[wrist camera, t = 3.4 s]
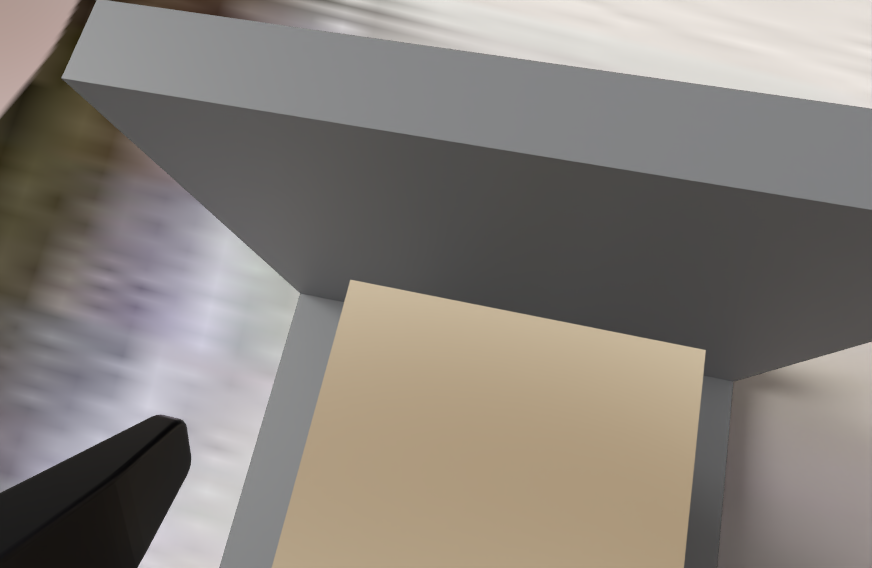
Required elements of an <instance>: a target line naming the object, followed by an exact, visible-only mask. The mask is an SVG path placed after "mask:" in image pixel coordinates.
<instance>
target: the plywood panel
mask: <svg viewBox="0 0 872 568" xmlns="http://www.w3.org/2000/svg"><path fill="white" fill-rule="evenodd" d="M705 353H706V350H703V349H698V348H693V347H688V346H683V345H677V344H672V343H667V342H662V341H657V340H652V339H647V338H642V337H637V336H632V335H627V334H622V333H617V332H612V331H607V330H602V329H597V328H592V327H587V326H582V325H577V324H572V323H567V322H562V321H557V320H551V319H546V318H541V317H536V316H531V315H526V314H521V313H516V312H511V311H506V310H501V309H496V308H491V307H486V306H481V305H476V304H471V303H466V302H461V301H456V300H451V299H446V298H441V297H436V296H430V295H425V294H420V293H415V292H410V291H405V290H400V289H395V288H390V287H385V286H380V285H375V284H370V283H365V282H360V281H355V280H350V283H349V287H348V290H347V294H346V298H345V301H344V305H343V309H342V312H341V316H340V320H339V323H338V327H337V331H336V334H335V338H334V342H333V345H332V349H331V352H330V356H329V360H328V363H327V367H326V371H325V374H324V378H323V382H322V385H321V389H320V393H319V396H318V400H317V404H316V407H315V411H314V415H313V418H312V422H311V426H310V429H309V433H308V437H307V440H306V444H305V448H304V451H303V455H302V459H301V462H300V466H299V470H298V473H297V477H296V481H295V484H294V488H293V492H292V495H291V499H290V503H289V506H288V510H287V514H286V517H285V521H284V525H283V528H282V532H281V535H280V539H279V543H278V546H277V550H276V554H275V557H274V561H273V565H272V568H684V561H685V551H686V541H687V531H688V521H689V512H690V502H691V492H692V482H693V472H694V462H695V452H696V442H697V432H698V422H699V413H700V403H701V393H702V383H703V373H704V363H705Z"/></svg>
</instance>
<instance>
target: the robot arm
mask: <svg viewBox="0 0 872 568" xmlns="http://www.w3.org/2000/svg"><path fill="white" fill-rule="evenodd" d="M190 465H191V453H190V446H189V439H188V432H187V427H186V424H185V423H184V421H183V420H181V419H178V418H174V417H169V416H165V415H156V416H153V417H150V418H148V419H146V420H144V421H142V422H140V423H138V424H136V425H135V426H133V427H131V428H129V429H127V430H125V431H123V432H121V433H119V434H117V435H115V436H113V437H111V438H109V439H107V440H105V441H103V442H101V443H99V444H97V445H95V446H93V447H91V448H89V449H87V450H85V451H83V452H81V453H79V454H77V455H75V456H73V457H71V458H69V459H67V460H65V461H63V462H61V463H59V464H57V465H55V466H53V467H51V468H49V469H47V470H45V471H43V472H41V473H39V474H37V475H35V476H33V477H31V478H29V479H27V480H25V481H23V482H21V483H19V484H17V485H15V486H13V487H11V488H9V489H7V490H5V491H3V492H1V493H0V568H137V567H138V566H139V564H140V562H141V560H142V559H143V557H144V555H145V553H146V551H147V550H148V548H149V546H150V544H151V542H152V540H153V538H154V536H155V534H156V533H157V531H158V529H159V527H160V525H161V523H162V521H163V519H164V517H165V516H166V514H167V512H168V510H169V508H170V506H171V504H172V502H173V500H174V499H175V497H176V495H177V493H178V491H179V489H180V487H181V485H182V484H183V482H184V480H185V478H186V476H187V474H188V471H189V469H190Z"/></svg>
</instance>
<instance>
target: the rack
mask: <svg viewBox="0 0 872 568" xmlns="http://www.w3.org/2000/svg"><path fill="white" fill-rule="evenodd" d="M62 79H63V80H64V81H65V82H66V83H67V84H69V85H70V86H71V87H72V88H73V89H74V90H75V91H76V92H77V93H79V94H80V95H81V96H82V97H83V98H84V99H85V100H86V101H87V102H89V103H90V104H91V105H92V106H93V107H94V108H95V109H96V110H97V111H99V112H100V113H101V114H102V115H103V116H104V117H105V118H106V119H107V120H109V121H110V122H111V123H112V124H113V125H114V126H115V127H116V128H117V129H119V130H120V131H121V132H122V133H123V134H124V135H125V136H126V137H127V138H129V139H130V140H131V141H132V142H133V143H134V144H135V145H136V146H137V147H139V148H140V149H141V150H142V151H143V152H144V153H145V154H146V155H147V156H149V157H150V158H151V159H152V160H153V161H154V162H155V163H156V164H157V165H159V166H160V167H161V168H162V169H163V170H164V171H165V172H166V173H167V174H169V175H170V176H171V177H172V178H173V179H174V180H175V181H176V182H177V183H179V184H180V185H181V186H182V187H183V188H184V189H185V190H186V191H187V192H189V193H190V194H191V195H192V196H193V197H194V198H195V199H196V200H197V201H199V202H200V203H201V204H202V205H203V206H204V207H205V208H206V209H207V210H209V211H210V212H211V213H212V214H213V215H214V216H215V217H216V218H217V219H218V220H220V221H221V222H222V223H223V224H224V225H225V226H226V227H227V228H228V229H230V230H231V231H232V232H233V233H234V234H235V235H236V236H237V237H238V238H240V239H241V240H242V241H243V242H244V243H245V244H246V245H247V246H248V247H250V248H251V249H252V250H253V251H254V252H255V253H256V254H257V255H258V256H260V257H261V258H262V259H263V260H264V261H265V262H266V263H267V264H268V265H270V266H271V267H272V268H273V269H274V270H275V271H276V272H277V273H278V274H280V275H281V276H282V277H283V278H284V279H285V280H286V281H287V282H288V283H290V284H291V285H292V286H293V287H294V288H295V289H296V290H297V291H298V292H300V296H299V299H298V303H297V306H296V310H295V313H294V316H293V320H292V323H291V327H290V330H289V333H288V337H287V340H286V343H285V347H284V350H283V354H282V357H281V360H280V364H279V367H278V371H277V374H276V377H275V381H274V384H273V388H272V391H271V394H270V398H269V401H268V404H267V408H266V411H265V415H264V418H263V421H262V425H261V428H260V432H259V435H258V438H257V442H256V445H255V449H254V452H253V455H252V459H251V462H250V465H249V469H248V472H247V476H246V479H245V482H244V486H243V489H242V493H241V496H240V499H239V503H238V506H237V509H236V513H235V516H234V520H233V523H232V526H231V530H230V533H229V537H228V540H227V543H226V547H225V550H224V554H223V557H222V560H221V564H220V567H219V568H272V565H273V561H274V557H275V554H276V550H277V546H278V543H279V539H280V535H281V532H282V528H283V525H284V521H285V517H286V514H287V510H288V506H289V503H290V499H291V495H292V492H293V488H294V484H295V481H296V477H297V473H298V470H299V466H300V462H301V459H302V455H303V451H304V448H305V444H306V440H307V437H308V433H309V429H310V426H311V422H312V418H313V415H314V411H315V407H316V404H317V400H318V396H319V393H320V389H321V385H322V382H323V378H324V374H325V371H326V367H327V363H328V360H329V356H330V352H331V349H332V345H333V342H334V338H335V334H336V331H337V327H338V323H339V320H340V316H341V312H342V309H343V305H344V301H345V298H346V294H347V290H348V287H349V283H350V280H355V281H360V282H365V283H370V284H375V285H380V286H385V287H390V288H395V289H400V290H405V291H410V292H415V293H420V294H425V295H430V296H436V297H441V298H446V299H451V300H456V301H461V302H466V303H471V304H476V305H481V306H486V307H491V308H496V309H501V310H506V311H511V312H516V313H521V314H526V315H531V316H536V317H541V318H546V319H551V320H557V321H562V322H567V323H572V324H577V325H582V326H587V327H592V328H597V329H602V330H607V331H612V332H617V333H622V334H627V335H632V336H637V337H642V338H647V339H652V340H657V341H662V342H667V343H672V344H677V345H683V346H688V347H693V348H698V349H703V350H706V353H705V363H704V373H703V383H702V393H701V403H700V413H699V422H698V432H697V442H696V452H695V462H694V472H693V482H692V492H691V502H690V512H689V521H688V531H687V541H686V551H685V561H684V568H717V563H718V552H719V540H720V529H721V517H722V506H723V494H724V483H725V471H726V460H727V448H728V437H729V425H730V414H731V402H732V391H733V381H737V380H740V379H744V378H747V377H751V376H754V375H758V374H761V373H764V372H768V371H771V370H775V369H778V368H782V367H785V366H789V365H792V364H796V363H799V362H803V361H806V360H809V359H813V358H816V357H820V356H823V355H827V354H830V353H834V352H837V351H841V350H844V349H848V348H851V347H855V346H858V345H861V344H865V343H868V342H872V109H870V108H863V107H856V106H849V105H842V104H835V103H828V102H821V101H813V100H806V99H799V98H792V97H785V96H778V95H771V94H764V93H757V92H750V91H743V90H736V89H729V88H722V87H715V86H708V85H700V84H693V83H686V82H679V81H672V80H665V79H658V78H651V77H644V76H637V75H630V74H623V73H616V72H609V71H602V70H595V69H587V68H580V67H573V66H566V65H559V64H552V63H545V62H538V61H531V60H524V59H517V58H510V57H503V56H496V55H489V54H482V53H474V52H467V51H460V50H453V49H446V48H439V47H432V46H425V45H418V44H411V43H404V42H397V41H390V40H383V39H376V38H369V37H361V36H354V35H347V34H340V33H333V32H326V31H319V30H312V29H305V28H298V27H291V26H284V25H277V24H270V23H263V22H256V21H249V20H241V19H234V18H227V17H220V16H213V15H206V14H199V13H192V12H185V11H178V10H171V9H164V8H157V7H150V6H143V5H136V4H128V3H121V2H114V1H107V0H97V1H96V3H95V6H94V8H93V10H92V12H91V14H90V17H89V19H88V21H87V23H86V25H85V28H84V30H83V32H82V34H81V36H80V39H79V41H78V43H77V45H76V47H75V50H74V52H73V54H72V56H71V58H70V61H69V63H68V65H67V67H66V69H65V72H64V74H63V76H62Z"/></svg>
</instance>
